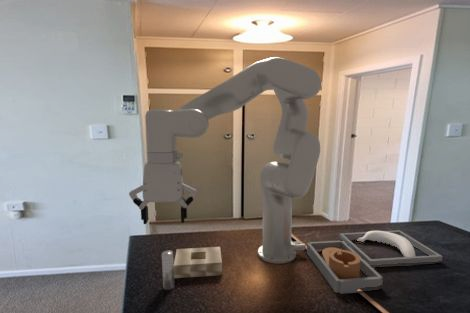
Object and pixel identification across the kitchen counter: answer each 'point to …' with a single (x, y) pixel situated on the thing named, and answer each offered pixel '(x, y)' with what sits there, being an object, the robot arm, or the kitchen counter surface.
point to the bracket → (342, 262)
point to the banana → (390, 241)
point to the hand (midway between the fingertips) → (164, 221)
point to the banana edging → (415, 259)
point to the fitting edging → (335, 283)
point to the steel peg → (168, 270)
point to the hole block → (197, 262)
